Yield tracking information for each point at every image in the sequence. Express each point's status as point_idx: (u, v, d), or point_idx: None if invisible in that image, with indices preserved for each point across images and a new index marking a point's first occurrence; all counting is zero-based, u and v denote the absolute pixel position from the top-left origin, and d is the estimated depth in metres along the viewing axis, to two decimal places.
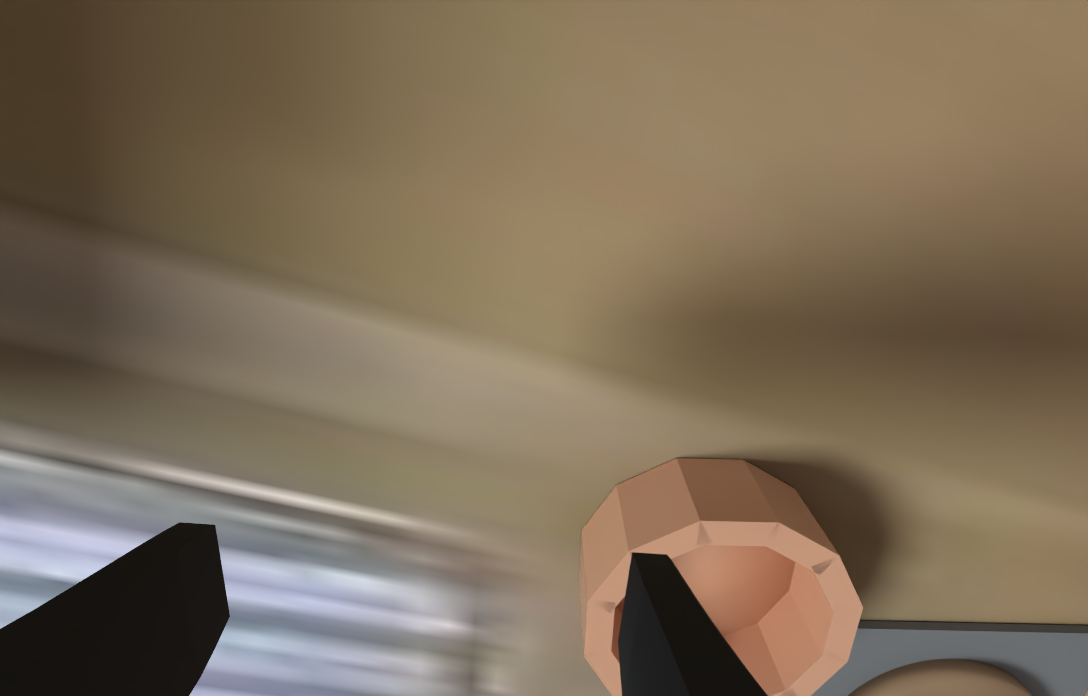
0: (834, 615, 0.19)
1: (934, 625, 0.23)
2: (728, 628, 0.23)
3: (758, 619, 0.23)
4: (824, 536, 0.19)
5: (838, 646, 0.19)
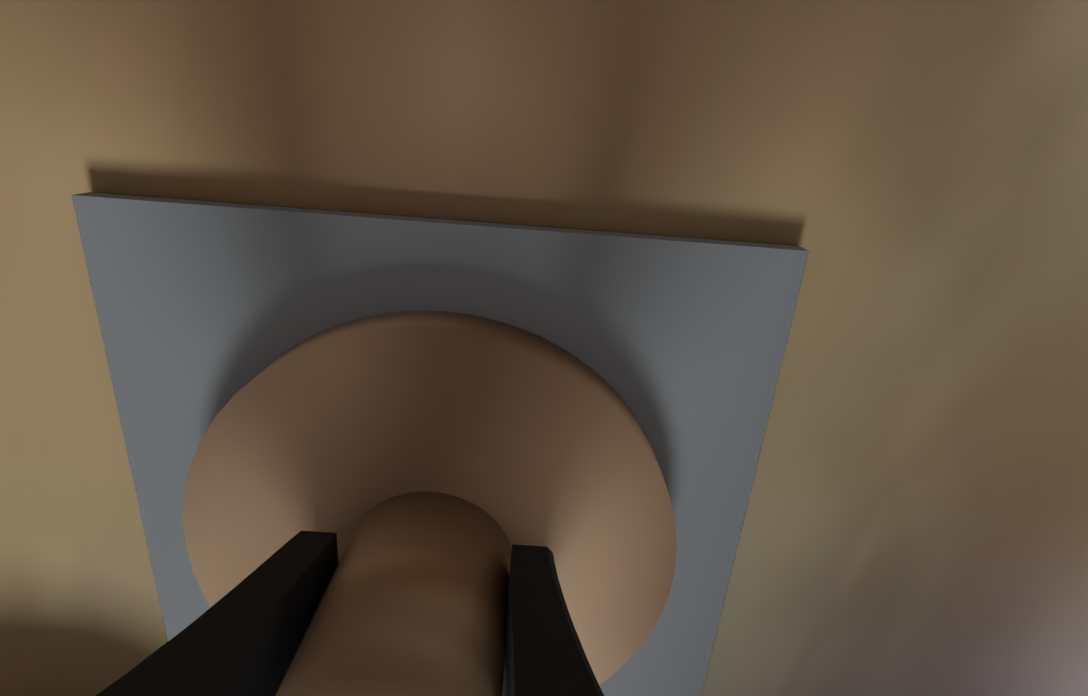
0: None
1: (154, 542, 0.12)
2: None
3: None
4: None
5: None
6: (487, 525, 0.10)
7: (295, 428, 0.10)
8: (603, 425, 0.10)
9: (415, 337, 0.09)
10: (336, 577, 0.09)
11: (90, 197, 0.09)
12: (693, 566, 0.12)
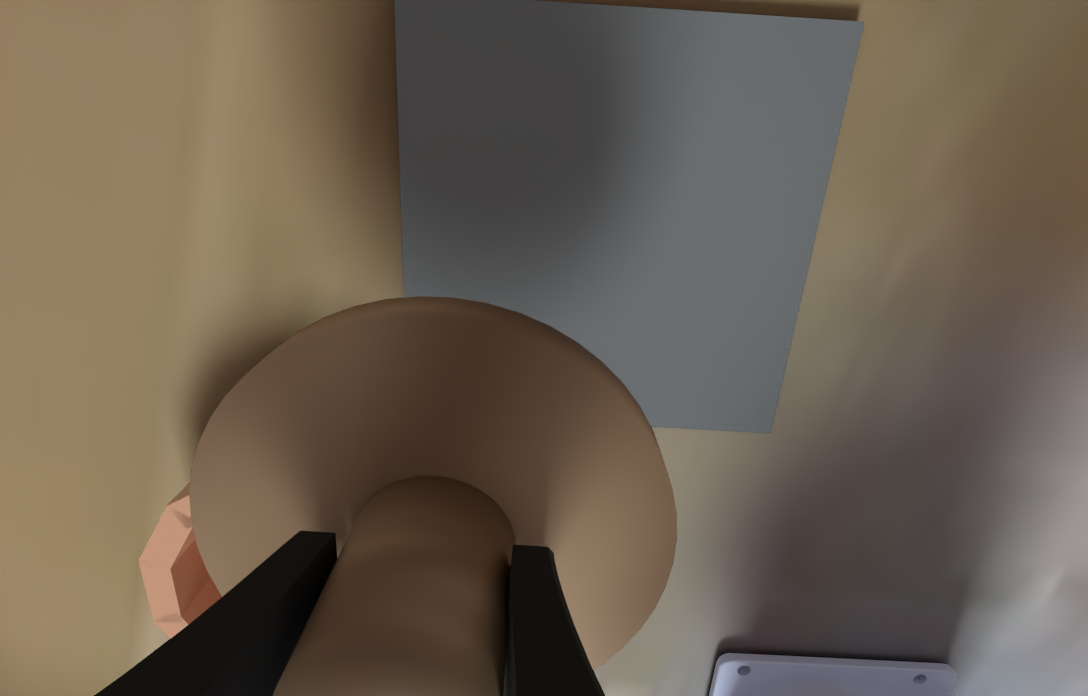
0: None
1: (404, 264, 0.17)
2: None
3: None
4: (180, 492, 0.17)
5: None
6: (492, 510, 0.10)
7: (305, 409, 0.10)
8: (611, 416, 0.10)
9: (428, 323, 0.09)
10: (343, 557, 0.09)
11: None
12: (780, 273, 0.17)
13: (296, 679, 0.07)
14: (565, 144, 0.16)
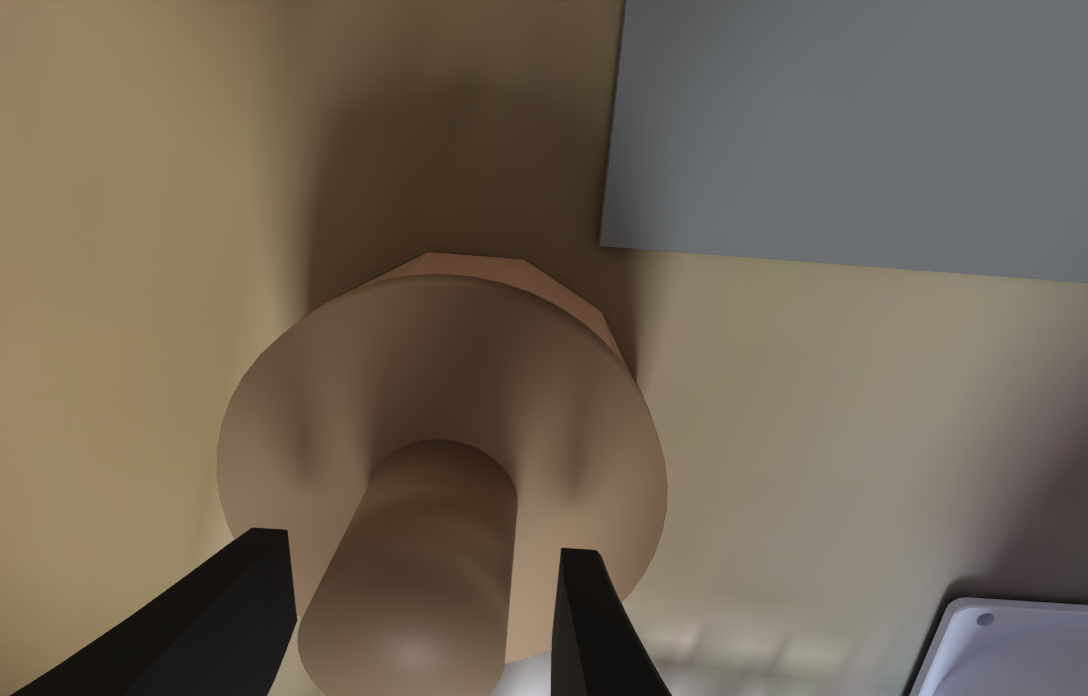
0: None
1: (624, 14, 0.12)
2: None
3: None
4: None
5: None
6: (499, 473, 0.11)
7: (333, 370, 0.11)
8: (612, 390, 0.11)
9: (452, 295, 0.10)
10: (364, 505, 0.10)
11: None
12: None
13: (326, 602, 0.08)
14: None
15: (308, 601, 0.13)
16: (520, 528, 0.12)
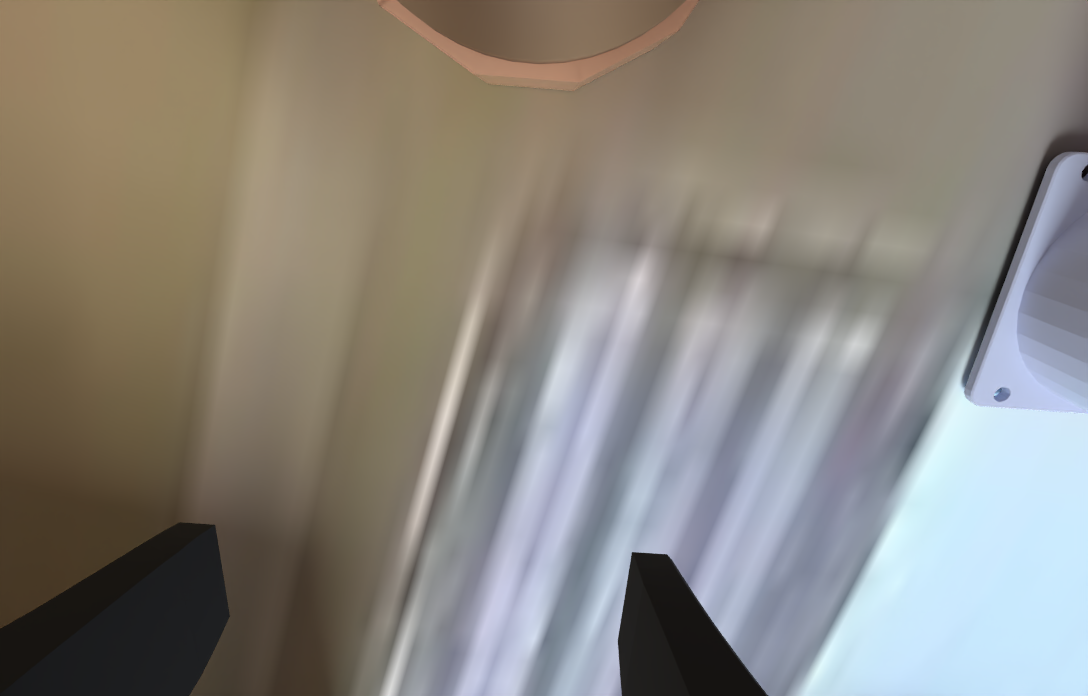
0: None
1: None
2: None
3: None
4: None
5: None
6: None
7: None
8: None
9: None
10: None
11: None
12: None
13: None
14: None
15: None
16: None
